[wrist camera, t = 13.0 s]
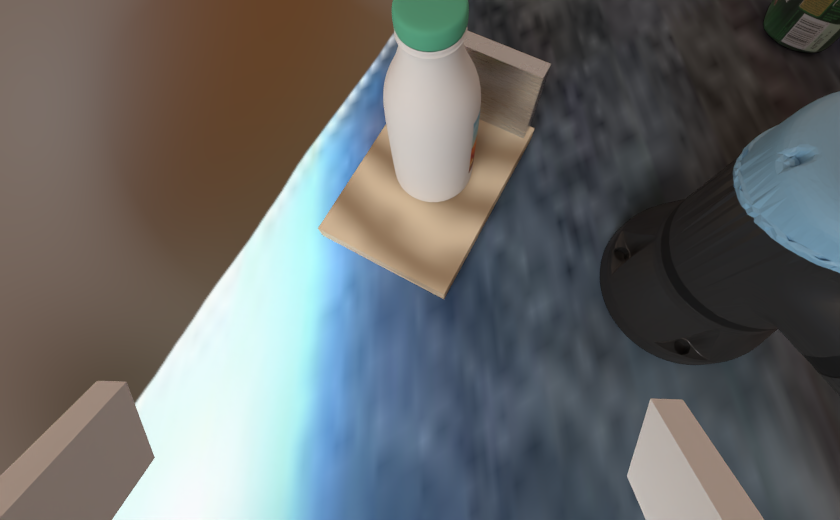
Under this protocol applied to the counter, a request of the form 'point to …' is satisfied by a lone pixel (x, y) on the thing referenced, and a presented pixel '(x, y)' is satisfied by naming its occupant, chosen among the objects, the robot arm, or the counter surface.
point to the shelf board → (421, 211)
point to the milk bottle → (432, 99)
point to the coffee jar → (804, 23)
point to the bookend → (506, 83)
